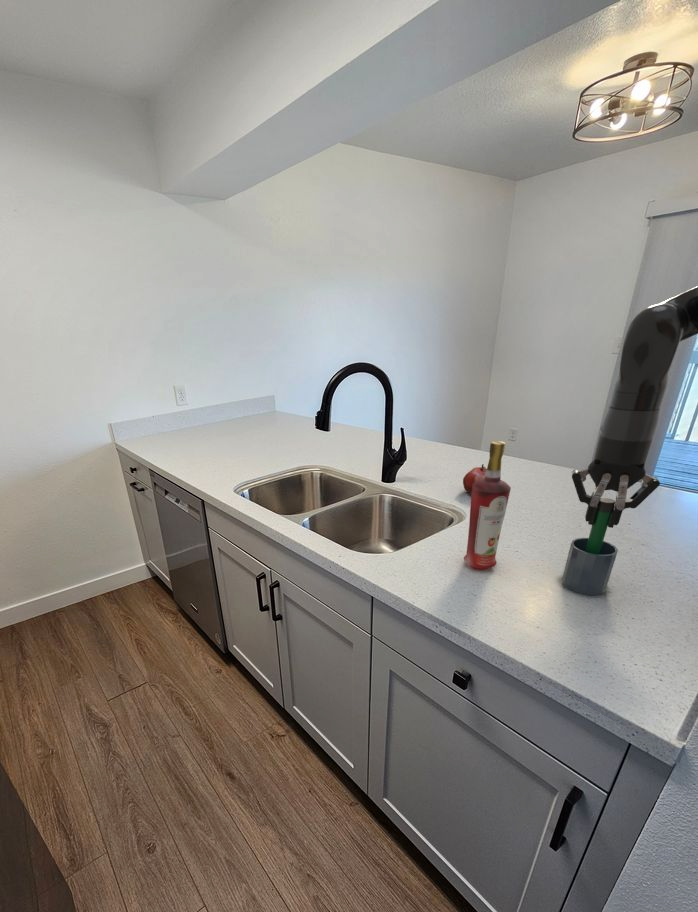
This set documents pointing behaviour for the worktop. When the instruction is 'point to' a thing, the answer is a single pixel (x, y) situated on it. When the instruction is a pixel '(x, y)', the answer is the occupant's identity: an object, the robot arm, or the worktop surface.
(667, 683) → the worktop surface
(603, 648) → the worktop surface
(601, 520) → the green marker
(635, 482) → the robot arm
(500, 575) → the worktop surface
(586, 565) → the grey cylindrical cup
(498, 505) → the liquor
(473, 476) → the fruit
